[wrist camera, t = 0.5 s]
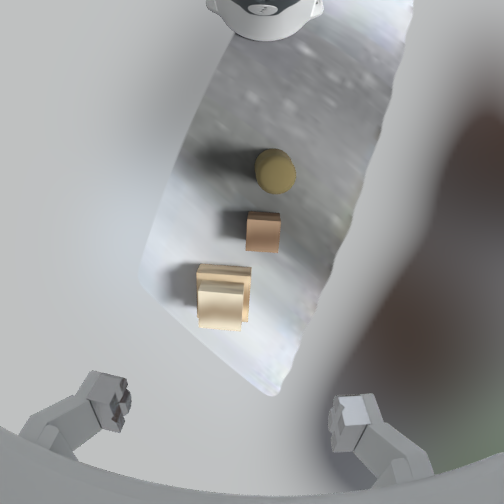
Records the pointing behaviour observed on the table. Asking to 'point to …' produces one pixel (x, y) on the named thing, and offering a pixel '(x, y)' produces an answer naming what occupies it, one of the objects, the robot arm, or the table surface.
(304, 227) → the table surface
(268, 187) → the cork
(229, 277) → the tower base
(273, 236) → the walnut cube
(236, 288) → the tower mid
